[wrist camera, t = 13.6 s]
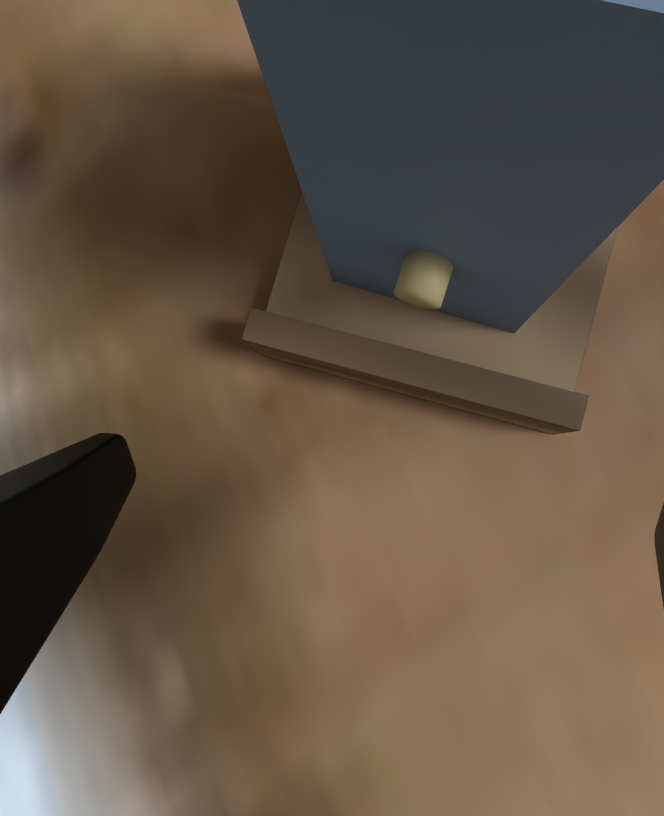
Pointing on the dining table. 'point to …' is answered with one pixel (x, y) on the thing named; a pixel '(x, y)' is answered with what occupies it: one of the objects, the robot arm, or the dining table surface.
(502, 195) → the blue-grey rectangular block
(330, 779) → the dining table surface
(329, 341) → the wooden stand
